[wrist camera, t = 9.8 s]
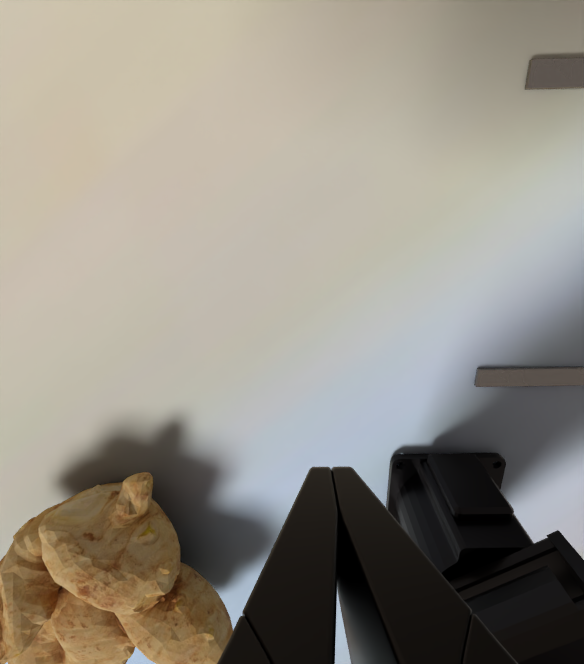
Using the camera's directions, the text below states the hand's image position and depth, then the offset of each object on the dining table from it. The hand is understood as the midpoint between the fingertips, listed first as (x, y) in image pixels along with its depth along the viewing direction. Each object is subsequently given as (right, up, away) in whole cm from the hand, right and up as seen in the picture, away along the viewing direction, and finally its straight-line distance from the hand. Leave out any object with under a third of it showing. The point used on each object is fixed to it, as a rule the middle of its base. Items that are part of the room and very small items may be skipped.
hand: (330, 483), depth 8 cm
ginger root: (-12, -11, +17) cm, 24 cm away
